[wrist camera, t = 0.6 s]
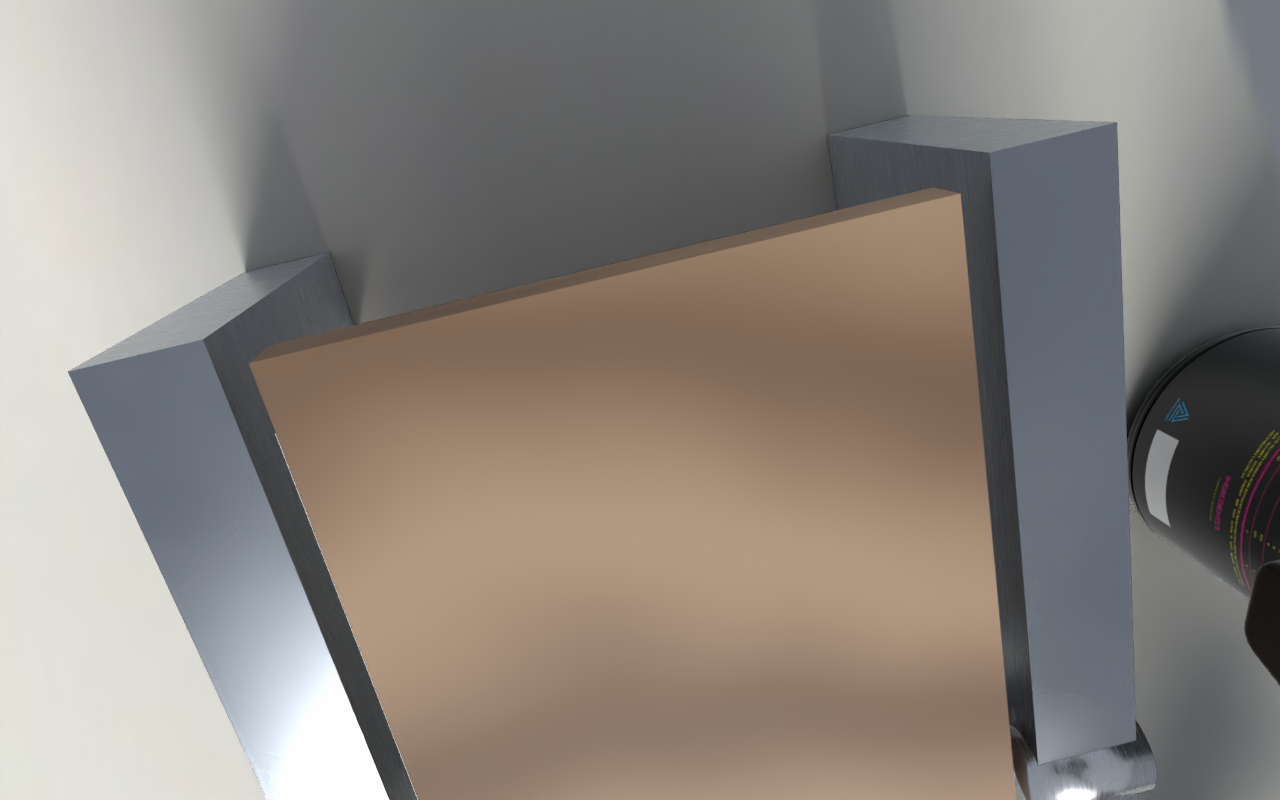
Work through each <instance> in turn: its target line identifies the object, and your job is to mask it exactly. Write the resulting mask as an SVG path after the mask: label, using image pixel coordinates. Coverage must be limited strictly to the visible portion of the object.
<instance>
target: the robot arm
mask: <svg viewBox="0 0 1280 800" xmlns="http://www.w3.org/2000/svg"><path fill="white" fill-rule="evenodd" d="M1245 635H1246V638H1247V641H1248V643H1249V645H1250V647H1251V649H1252V651H1253V652H1254V653H1255V655H1256V656H1257V657H1258V659H1259V660H1260V661H1261V662H1262V664H1263V665H1264V666H1265V667H1266V669H1267V670H1268V671H1269V672H1270V674H1271V675H1272V676H1273V677H1274V679H1275V680H1276V681H1277V683H1278V684H1279V685H1280V559H1279V560H1275V561H1272V562H1268V563H1266V564H1264V565H1262V566H1261V567H1260V568H1259V569H1258V571H1257V573H1256V575H1255V579H1254V584H1253V588H1252V593H1251V597H1250V602H1249V607H1248V611H1247V616H1246V620H1245Z"/></svg>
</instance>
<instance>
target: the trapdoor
mask: <svg viewBox="0 0 1280 800" xmlns="http://www.w3.org/2000/svg"><path fill="white" fill-rule="evenodd" d="M249 365H250V368H251V370H252V373H253V376H254V378H255V381H256V383H257V386H258V388H259V391H260V394H261V396H262V399H263V401H264V404H265V406H266V409H267V411H268V414H269V417H270V419H271V422H272V424H273V427H274V429H275V432H276V435H277V437H278V440H279V442H280V445H281V447H282V450H283V453H284V455H285V458H286V460H287V463H288V465H289V468H290V471H291V473H292V476H293V478H294V481H295V483H296V486H297V489H298V491H299V494H300V496H301V499H302V501H303V504H304V507H305V509H306V512H307V514H308V517H309V519H310V522H311V524H312V527H313V530H314V532H315V535H316V537H317V540H318V542H319V545H320V548H321V550H322V553H323V555H324V558H325V560H326V563H327V566H328V568H329V571H330V573H331V576H332V578H333V581H334V584H335V586H336V589H337V591H338V594H339V596H340V599H341V602H342V604H343V607H344V609H345V612H346V614H347V617H348V619H349V622H350V625H351V627H352V630H353V632H354V635H355V637H356V640H357V643H358V645H359V648H360V650H361V653H362V655H363V658H364V661H365V663H366V666H367V668H368V671H369V673H370V676H371V679H372V681H373V684H374V686H375V689H376V691H377V694H378V697H379V699H380V702H381V704H382V707H383V709H384V712H385V715H386V717H387V720H388V722H389V725H390V727H391V730H392V732H393V735H394V738H395V740H396V743H397V745H398V748H399V750H400V753H401V756H402V758H403V761H404V763H405V766H406V768H407V771H408V774H409V776H410V779H411V781H412V784H413V786H414V789H415V792H416V794H417V797H418V799H419V800H1016V791H1015V781H1014V770H1013V759H1012V748H1011V737H1010V726H1009V715H1008V704H1007V693H1006V682H1005V672H1004V661H1003V650H1002V639H1001V628H1000V617H999V606H998V595H997V584H996V574H995V563H994V552H993V541H992V530H991V519H990V508H989V497H988V486H987V476H986V465H985V454H984V443H983V432H982V421H981V410H980V399H979V388H978V377H977V367H976V356H975V345H974V334H973V323H972V312H971V301H970V290H969V279H968V269H967V258H966V247H965V236H964V225H963V214H962V203H961V193H956V192H952V191H947V190H943V189H938V188H929V189H924V190H920V191H916V192H912V193H908V194H904V195H899V196H895V197H891V198H887V199H883V200H878V201H874V202H870V203H866V204H862V205H857V206H853V207H849V208H845V209H841V210H836V211H832V212H828V213H824V214H820V215H815V216H811V217H807V218H803V219H799V220H794V221H790V222H786V223H782V224H778V225H773V226H769V227H765V228H761V229H757V230H752V231H748V232H744V233H740V234H736V235H732V236H727V237H723V238H719V239H715V240H711V241H706V242H702V243H698V244H694V245H690V246H685V247H681V248H677V249H673V250H669V251H664V252H660V253H656V254H652V255H648V256H643V257H639V258H635V259H631V260H627V261H622V262H618V263H614V264H610V265H606V266H601V267H597V268H593V269H589V270H585V271H580V272H576V273H572V274H568V275H564V276H560V277H555V278H551V279H547V280H543V281H539V282H534V283H530V284H526V285H522V286H518V287H513V288H509V289H505V290H501V291H497V292H492V293H488V294H484V295H480V296H476V297H471V298H467V299H463V300H459V301H455V302H450V303H446V304H442V305H438V306H434V307H429V308H425V309H421V310H417V311H413V312H408V313H404V314H400V315H396V316H392V317H388V318H383V319H379V320H375V321H371V322H367V323H362V324H358V325H354V326H350V327H346V328H341V329H337V330H333V331H329V332H325V333H320V334H316V335H312V336H308V337H304V338H299V339H295V340H291V341H287V342H283V343H278V344H274V345H270V346H268V347H267V348H266V349H265V350H263V351H262V352H261V353H260V354H259V355H258V356H257V357H255V358H254V359H253V360H252V361H251V362H250V363H249Z"/></svg>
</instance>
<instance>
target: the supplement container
mask: <svg viewBox="0 0 1280 800" xmlns="http://www.w3.org/2000/svg"><path fill="white" fill-rule="evenodd" d="M1127 460H1128V491H1129V494H1130V496H1131V499H1132V502H1133V504H1134V506H1135V508H1136V510H1137V512H1138V514H1139V515H1140V517H1141V518H1142V520H1143V521H1144V523H1145V524H1146V525H1147V526H1148V527H1149V528H1150V530H1151V531H1152V532H1154V533H1155V534H1156V535H1157V536H1158V537H1160V538H1161V539H1162V540H1164V541H1165V542H1167V543H1168V544H1170V545H1171V546H1172V547H1174V548H1175V549H1177V550H1178V551H1179V552H1181V553H1182V554H1184V555H1185V556H1187V557H1188V558H1189V559H1191V560H1192V561H1194V562H1195V563H1196V564H1198V565H1199V566H1201V567H1202V568H1204V569H1205V570H1206V571H1208V572H1209V573H1211V574H1212V575H1214V576H1215V577H1216V578H1218V579H1219V580H1221V581H1222V582H1223V583H1225V584H1226V585H1228V586H1229V587H1231V588H1232V589H1233V590H1235V591H1236V592H1238V593H1239V594H1240V595H1242V596H1243V597H1245V598H1246V599H1248V600H1249V601H1250V597H1251V593H1252V588H1253V584H1254V579H1255V575H1256V573H1257V571H1258V569H1259V568H1260V567H1261V566H1262V565H1264V564H1266V563H1268V562H1272V561H1275V560H1279V559H1280V327H1279V326H1276V327H1261V328H1253V329H1246V330H1242V331H1238V332H1233V333H1230V334H1227V335H1224V336H1221V337H1219V338H1216V339H1214V340H1212V341H1210V342H1208V343H1206V344H1204V345H1202V346H1200V347H1198V348H1197V349H1195V350H1193V351H1192V352H1190V353H1189V354H1187V355H1186V356H1184V357H1183V358H1182V359H1181V360H1179V361H1178V362H1177V363H1176V364H1174V365H1173V366H1172V367H1171V368H1170V369H1169V370H1168V371H1167V372H1166V373H1165V374H1164V375H1163V376H1162V377H1161V378H1160V379H1159V380H1158V381H1157V383H1156V384H1155V385H1154V386H1153V388H1152V389H1151V390H1150V392H1149V393H1148V395H1147V396H1146V398H1145V399H1144V401H1143V402H1142V404H1141V406H1140V408H1139V410H1138V412H1137V414H1136V416H1135V418H1134V421H1133V423H1132V426H1131V429H1130V432H1129V435H1128V440H1127Z"/></svg>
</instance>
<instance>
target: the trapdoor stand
mask: <svg viewBox="0 0 1280 800" xmlns="http://www.w3.org/2000/svg"><path fill="white" fill-rule="evenodd" d="M827 137H828V144H829V151H830V158H831V165H832V172H833V180H834V187H835V194H836V201H837V208H838V210H841V209H845V208H849V207H853V206H857V205H862V204H866V203H870V202H874V201H878V200H883V199H887V198H891V197H895V196H899V195H904V194H908V193H912V192H916V191H920V190H924V189H929V188H938V189H943V190H947V191H952V192H956V193H961V203H962V214H963V225H964V236H965V247H966V258H967V269H968V279H969V290H970V301H971V312H972V323H973V334H974V345H975V356H976V367H977V377H978V388H979V399H980V410H981V421H982V432H983V443H984V454H985V465H986V476H987V486H988V497H989V508H990V519H991V530H992V541H993V552H994V563H995V574H996V584H997V595H998V606H999V617H1000V628H1001V639H1002V650H1003V661H1004V672H1005V682H1006V693H1007V704H1008V715H1009V726H1010V737H1011V748H1012V759H1013V770H1014V781H1015V791H1016V800H1138V793H1142V792H1146V791H1150V790H1152V789H1153V788H1154V787H1155V784H1156V780H1157V774H1156V766H1155V761H1154V758H1153V754H1152V751H1151V749H1150V746H1149V744H1148V741H1147V739H1146V737H1145V735H1144V733H1143V731H1142V729H1141V728H1140V726H1139V724H1138V723H1137V721H1136V717H1135V685H1134V653H1133V621H1132V589H1131V557H1130V525H1129V492H1128V460H1127V428H1126V396H1125V364H1124V332H1123V300H1122V268H1121V236H1120V203H1119V171H1118V139H1117V122H1093V121H1062V120H1031V119H1000V118H969V117H939V116H905V117H900V118H896V119H892V120H888V121H883V122H879V123H875V124H871V125H867V126H862V127H858V128H854V129H850V130H845V131H841V132H837V133H833V134H828V135H827ZM350 326H354V324H353V321H352V318H351V315H350V312H349V309H348V306H347V304H346V301H345V298H344V295H343V292H342V289H341V286H340V283H339V280H338V277H337V274H336V271H335V268H334V265H333V262H332V260H331V257H330V254H329V252H328V253H324V254H320V255H315V256H311V257H307V258H303V259H299V260H294V261H290V262H286V263H282V264H277V265H273V266H269V267H265V268H260V269H256V270H252V271H248V272H244V273H242V274H240V275H239V276H237V277H235V278H233V279H232V280H230V281H228V282H226V283H224V284H223V285H221V286H219V287H217V288H216V289H214V290H212V291H210V292H208V293H207V294H205V295H203V296H201V297H200V298H198V299H196V300H194V301H193V302H191V303H189V304H187V305H185V306H184V307H182V308H180V309H178V310H177V311H175V312H173V313H171V314H169V315H168V316H166V317H164V318H162V319H161V320H159V321H157V322H155V323H153V324H152V325H150V326H148V327H146V328H145V329H143V330H141V331H139V332H137V333H136V334H134V335H132V336H130V337H129V338H127V339H125V340H123V341H121V342H120V343H118V344H116V345H114V346H113V347H111V348H109V349H107V350H105V351H104V352H102V353H100V354H98V355H97V356H95V357H93V358H91V359H89V360H88V361H86V362H84V363H82V364H81V365H79V366H77V367H75V368H73V369H72V370H70V371H68V373H69V375H70V377H71V379H72V382H73V384H74V386H75V388H76V390H77V392H78V395H79V397H80V399H81V401H82V403H83V405H84V407H85V410H86V412H87V414H88V416H89V418H90V420H91V422H92V425H93V427H94V429H95V431H96V433H97V435H98V438H99V440H100V442H101V444H102V446H103V448H104V450H105V453H106V455H107V457H108V459H109V461H110V463H111V465H112V468H113V470H114V472H115V474H116V476H117V478H118V481H119V483H120V485H121V487H122V489H123V491H124V493H125V496H126V498H127V500H128V502H129V504H130V506H131V509H132V511H133V513H134V515H135V517H136V519H137V521H138V524H139V526H140V528H141V530H142V532H143V534H144V536H145V539H146V541H147V543H148V545H149V547H150V549H151V552H152V554H153V556H154V558H155V560H156V562H157V564H158V567H159V569H160V571H161V573H162V575H163V577H164V579H165V582H166V584H167V586H168V588H169V590H170V592H171V595H172V597H173V599H174V601H175V603H176V605H177V607H178V610H179V612H180V614H181V616H182V618H183V620H184V622H185V625H186V627H187V629H188V631H189V633H190V635H191V638H192V640H193V642H194V644H195V646H196V648H197V650H198V653H199V655H200V657H201V659H202V661H203V663H204V665H205V668H206V670H207V672H208V674H209V676H210V678H211V681H212V683H213V685H214V687H215V689H216V691H217V693H218V696H219V698H220V700H221V702H222V704H223V706H224V709H225V711H226V713H227V715H228V717H229V719H230V721H231V724H232V726H233V728H234V730H235V732H236V734H237V736H238V739H239V741H240V743H241V745H242V747H243V749H244V752H245V754H246V756H247V758H248V760H249V762H250V764H251V767H252V769H253V771H254V773H255V775H256V777H257V779H258V782H259V784H260V786H261V788H262V790H263V792H264V795H265V797H266V799H267V800H417V797H416V795H415V792H414V790H413V787H412V785H411V782H410V780H409V777H408V774H407V772H406V769H405V767H404V764H403V762H402V759H401V756H400V754H399V751H398V749H397V746H396V744H395V741H394V739H393V736H392V733H391V731H390V728H389V726H388V723H387V721H386V718H385V715H384V713H383V710H382V708H381V705H380V703H379V700H378V697H377V695H376V692H375V690H374V687H373V685H372V682H371V680H370V677H369V674H368V672H367V669H366V667H365V664H364V662H363V659H362V656H361V654H360V651H359V649H358V646H357V644H356V641H355V639H354V636H353V633H352V631H351V628H350V626H349V623H348V621H347V618H346V615H345V613H344V610H343V608H342V605H341V603H340V600H339V598H338V595H337V592H336V590H335V587H334V585H333V582H332V580H331V577H330V574H329V572H328V569H327V567H326V564H325V562H324V559H323V556H322V554H321V551H320V549H319V546H318V544H317V541H316V539H315V536H314V533H313V531H312V528H311V526H310V523H309V521H308V518H307V515H306V513H305V510H304V508H303V505H302V503H301V500H300V498H299V495H298V492H297V490H296V487H295V485H294V482H293V480H292V477H291V474H290V472H289V469H288V467H287V464H286V462H285V459H284V457H283V454H282V451H281V449H280V446H279V444H278V441H277V439H276V436H275V433H276V432H275V429H274V427H273V424H272V422H271V419H270V417H269V414H268V411H267V409H266V406H265V404H264V401H263V399H262V396H261V394H260V391H259V388H258V386H257V383H256V381H255V378H254V376H253V373H252V370H251V368H250V365H249V363H250V362H251V361H252V360H253V359H254V358H255V357H257V356H258V355H259V354H260V353H261V352H262V351H263V350H265V349H266V348H267V347H268V346H270V345H274V344H278V343H283V342H287V341H291V340H295V339H299V338H304V337H308V336H312V335H316V334H320V333H325V332H329V331H333V330H337V329H341V328H346V327H350Z"/></svg>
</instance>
